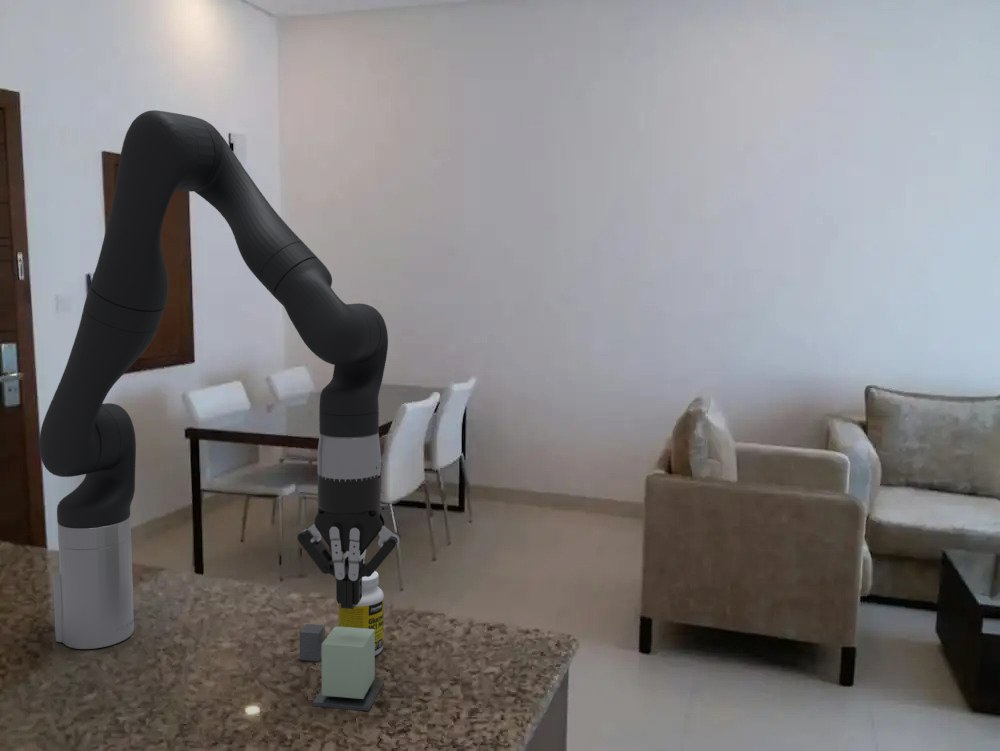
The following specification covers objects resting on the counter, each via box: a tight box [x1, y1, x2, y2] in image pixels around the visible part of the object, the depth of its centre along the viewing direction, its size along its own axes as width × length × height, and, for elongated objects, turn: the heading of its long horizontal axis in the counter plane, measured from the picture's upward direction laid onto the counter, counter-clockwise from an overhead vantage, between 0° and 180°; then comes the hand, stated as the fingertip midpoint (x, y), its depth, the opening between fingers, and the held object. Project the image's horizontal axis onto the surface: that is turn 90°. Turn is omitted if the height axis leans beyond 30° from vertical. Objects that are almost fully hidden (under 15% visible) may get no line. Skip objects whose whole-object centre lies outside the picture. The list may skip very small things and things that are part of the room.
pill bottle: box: [338, 570, 385, 656], centre depth 116 cm, size 6×6×11 cm
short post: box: [299, 623, 326, 663], centre depth 114 cm, size 3×3×4 cm
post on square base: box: [312, 678, 385, 712], centre depth 104 cm, size 7×7×7 cm
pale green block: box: [321, 625, 376, 699], centre depth 104 cm, size 5×5×7 cm
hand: (349, 606), depth 103 cm, fingers closed
